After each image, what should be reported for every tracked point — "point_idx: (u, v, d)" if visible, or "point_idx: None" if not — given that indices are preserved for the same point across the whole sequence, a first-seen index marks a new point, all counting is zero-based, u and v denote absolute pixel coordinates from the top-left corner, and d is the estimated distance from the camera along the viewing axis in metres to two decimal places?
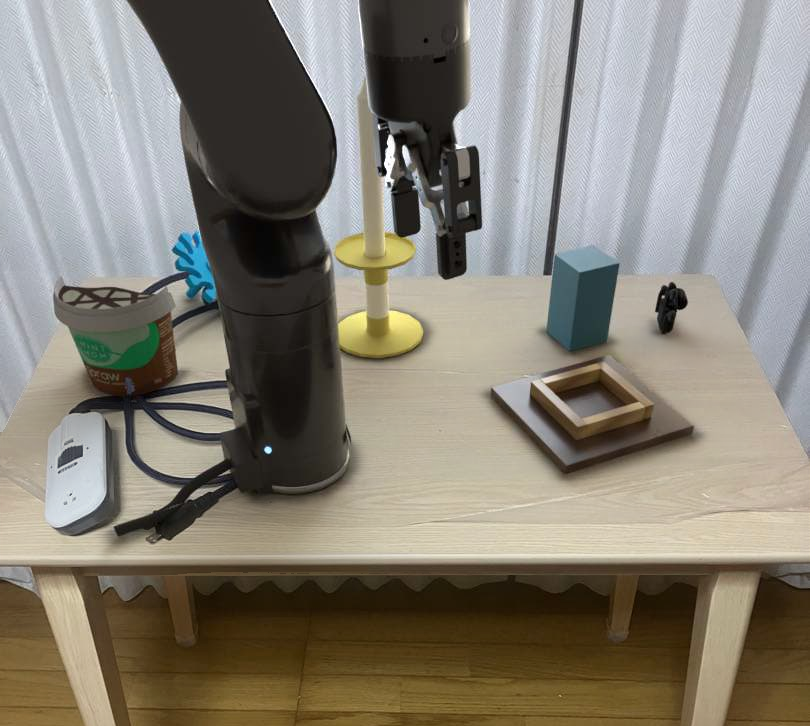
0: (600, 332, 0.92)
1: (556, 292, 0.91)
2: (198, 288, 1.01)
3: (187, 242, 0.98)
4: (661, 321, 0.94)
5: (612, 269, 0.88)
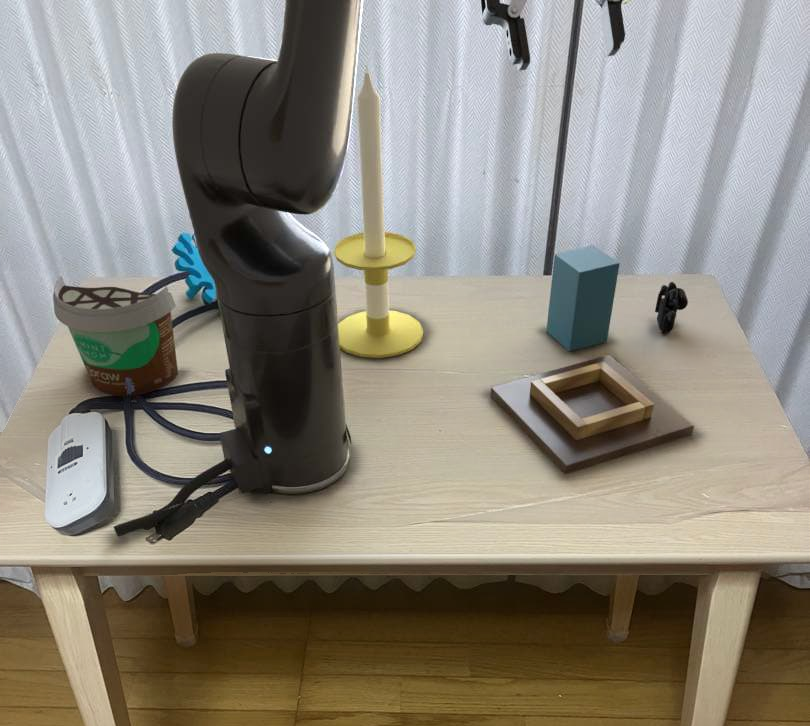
0: (600, 332, 0.92)
1: (556, 292, 0.91)
2: (198, 288, 1.01)
3: (187, 242, 0.98)
4: (661, 321, 0.94)
5: (612, 269, 0.88)
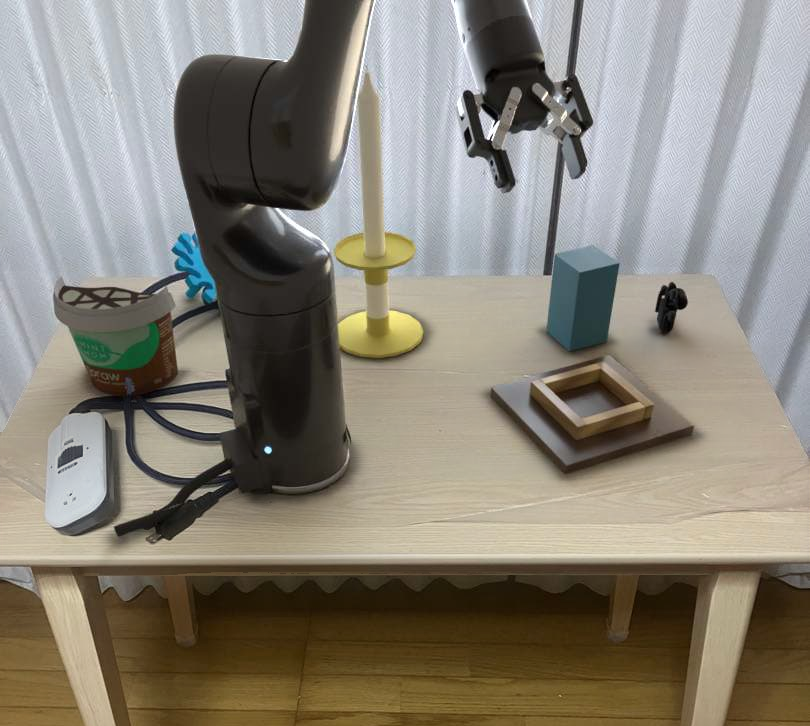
0: (600, 332, 0.92)
1: (556, 292, 0.91)
2: (198, 288, 1.01)
3: (187, 242, 0.98)
4: (661, 321, 0.94)
5: (612, 269, 0.88)
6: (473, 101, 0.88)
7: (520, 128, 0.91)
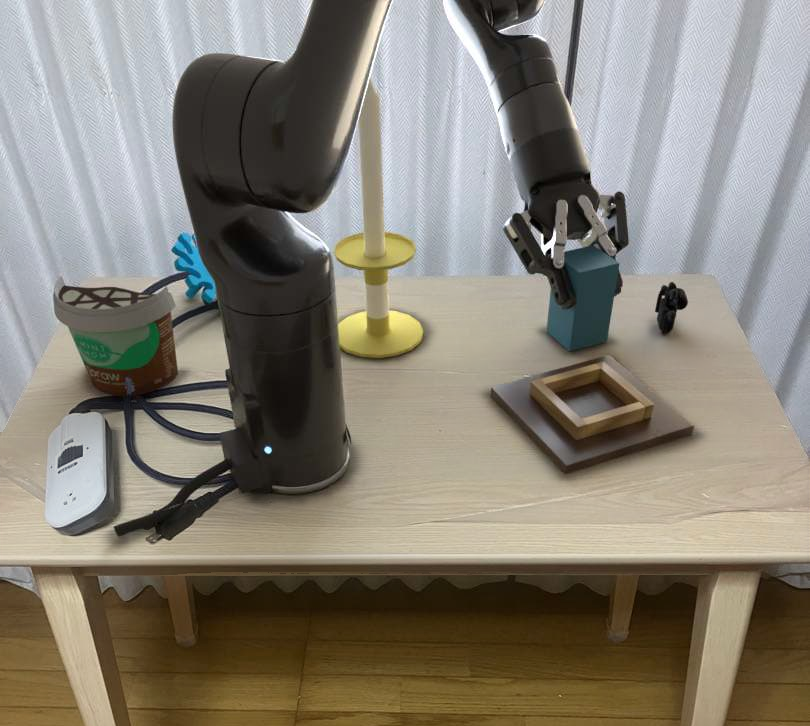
0: (600, 332, 0.92)
1: None
2: (198, 288, 1.01)
3: (186, 242, 0.98)
4: (661, 321, 0.94)
5: (612, 269, 0.88)
6: (523, 222, 0.87)
7: None
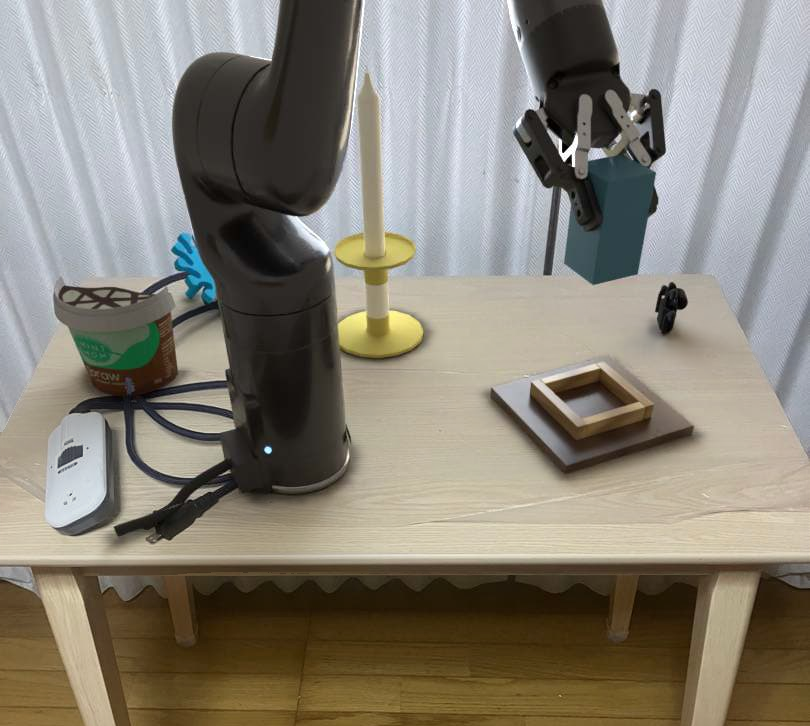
0: (630, 262, 0.76)
1: None
2: (197, 288, 1.01)
3: (186, 242, 0.98)
4: (661, 321, 0.94)
5: (647, 180, 0.71)
6: (539, 121, 0.71)
7: None
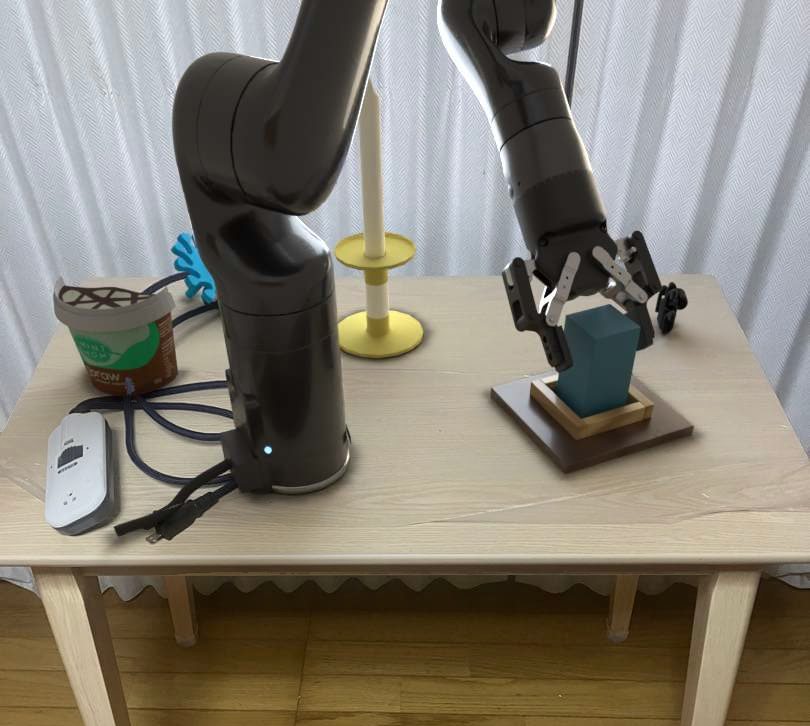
0: (617, 402, 0.81)
1: None
2: (197, 288, 1.01)
3: (186, 242, 0.98)
4: (661, 321, 0.94)
5: (632, 334, 0.76)
6: (524, 270, 0.75)
7: (577, 296, 0.78)
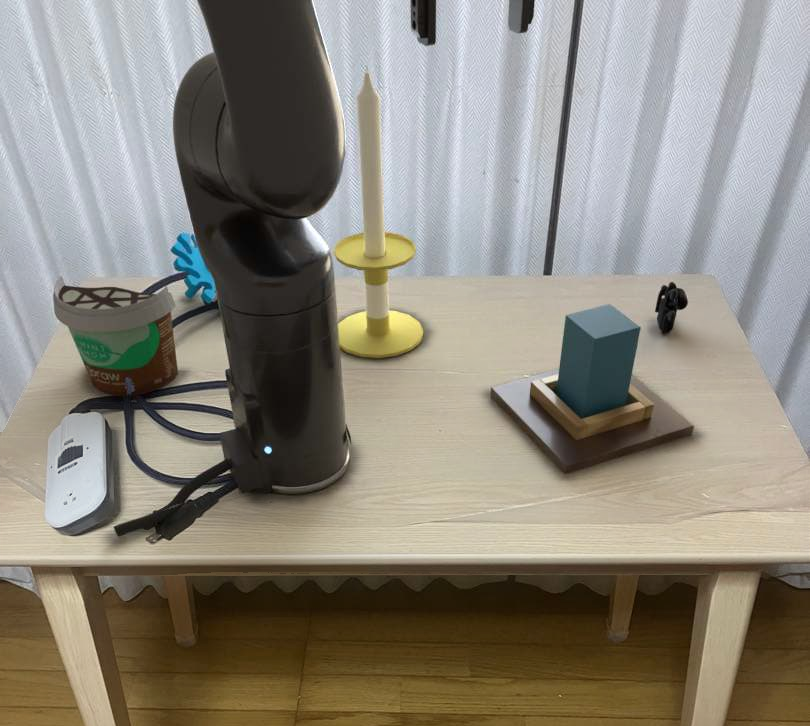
0: (617, 402, 0.81)
1: (568, 358, 0.80)
2: (197, 288, 1.01)
3: (186, 242, 0.98)
4: (661, 321, 0.94)
5: (632, 334, 0.76)
6: None
7: None
